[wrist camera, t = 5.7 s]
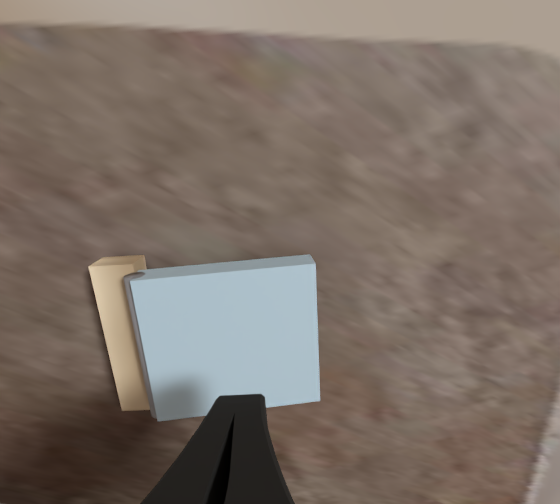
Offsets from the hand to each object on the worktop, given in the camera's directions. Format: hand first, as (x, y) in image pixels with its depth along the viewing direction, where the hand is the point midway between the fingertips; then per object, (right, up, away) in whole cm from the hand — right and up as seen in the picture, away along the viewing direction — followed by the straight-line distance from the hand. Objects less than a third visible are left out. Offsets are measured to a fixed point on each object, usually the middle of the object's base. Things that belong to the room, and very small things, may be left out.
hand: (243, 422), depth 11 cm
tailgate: (-4, +1, +4) cm, 6 cm away
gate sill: (-5, +2, +6) cm, 8 cm away
